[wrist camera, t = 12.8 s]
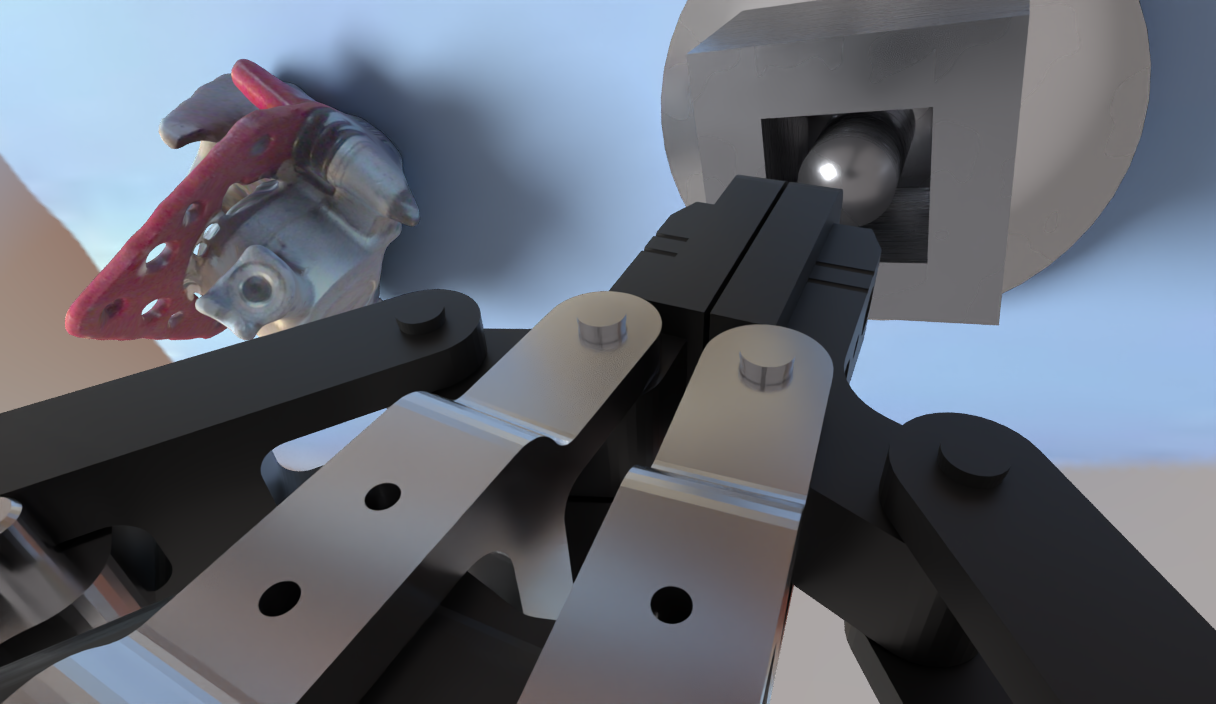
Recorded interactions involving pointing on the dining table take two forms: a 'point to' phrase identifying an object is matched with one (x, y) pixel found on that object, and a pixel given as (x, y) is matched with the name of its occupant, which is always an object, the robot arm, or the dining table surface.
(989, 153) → the square socket block
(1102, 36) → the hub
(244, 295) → the brake caliper
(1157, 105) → the dining table surface
